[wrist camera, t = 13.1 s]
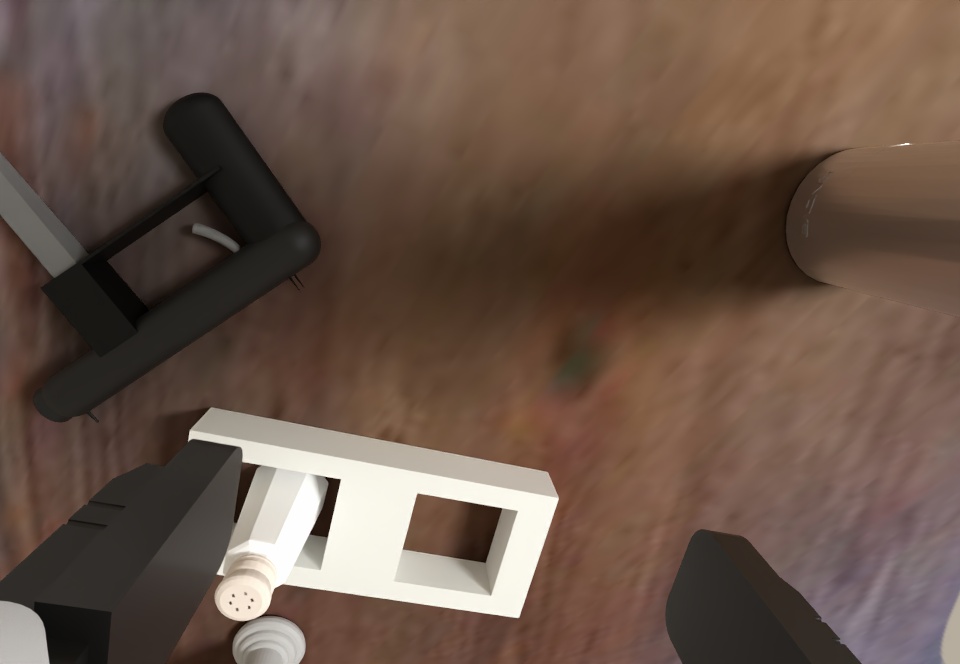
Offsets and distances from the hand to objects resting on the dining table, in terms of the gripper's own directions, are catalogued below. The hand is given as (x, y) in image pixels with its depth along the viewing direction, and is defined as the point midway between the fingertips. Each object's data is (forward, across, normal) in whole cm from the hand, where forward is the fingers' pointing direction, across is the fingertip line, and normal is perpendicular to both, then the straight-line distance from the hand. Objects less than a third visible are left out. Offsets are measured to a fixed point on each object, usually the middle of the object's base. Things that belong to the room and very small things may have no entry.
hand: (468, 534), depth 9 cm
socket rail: (+27, +2, +18) cm, 32 cm away
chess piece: (+27, +7, +31) cm, 42 cm away
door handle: (+28, +19, +2) cm, 34 cm away
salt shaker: (+27, +8, +17) cm, 33 cm away
